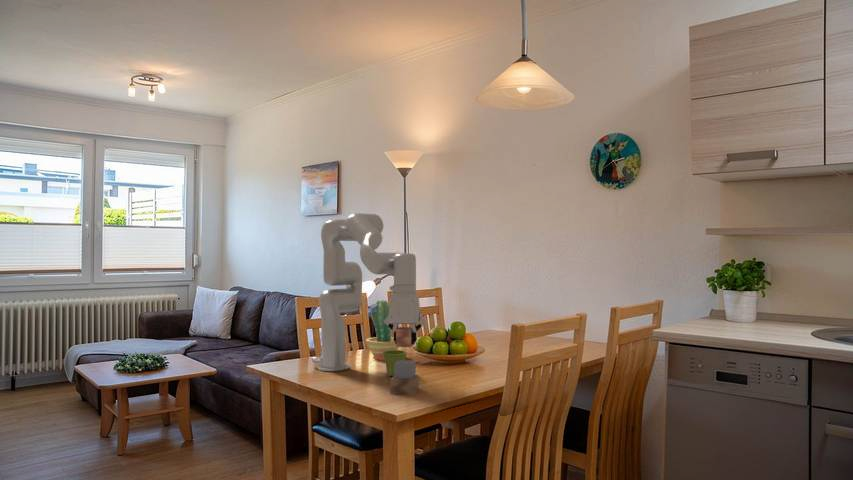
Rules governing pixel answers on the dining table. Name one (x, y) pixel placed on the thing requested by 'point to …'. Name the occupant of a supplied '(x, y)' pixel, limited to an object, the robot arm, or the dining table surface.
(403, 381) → the walnut base block
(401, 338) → the brownish pink block
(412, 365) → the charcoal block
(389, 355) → the plant pot
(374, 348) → the potted cactus
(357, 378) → the dining table surface
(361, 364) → the dining table surface
